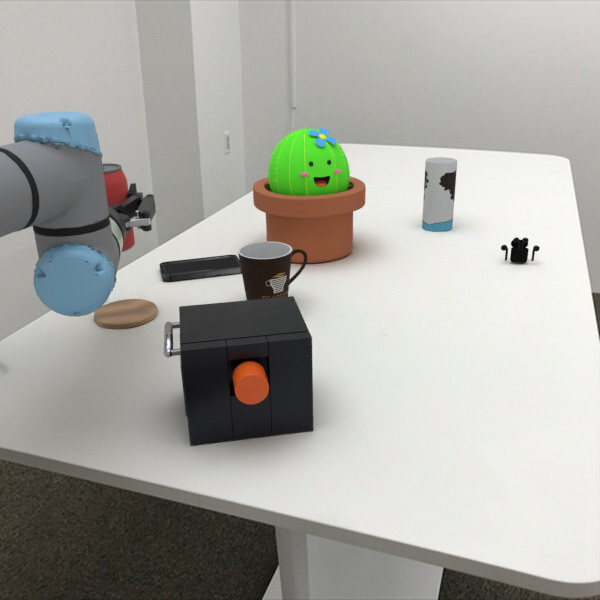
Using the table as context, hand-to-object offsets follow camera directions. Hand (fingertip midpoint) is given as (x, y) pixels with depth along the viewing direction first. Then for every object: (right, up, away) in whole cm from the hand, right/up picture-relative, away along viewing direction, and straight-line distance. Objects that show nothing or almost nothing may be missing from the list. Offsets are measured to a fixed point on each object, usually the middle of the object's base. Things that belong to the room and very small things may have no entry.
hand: (109, 193), depth 98 cm
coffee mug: (+25, -17, +9) cm, 32 cm away
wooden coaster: (+1, -19, +7) cm, 20 cm away
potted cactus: (+31, -6, +36) cm, 47 cm away
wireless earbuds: (+70, -9, +26) cm, 76 cm away
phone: (+10, -11, +26) cm, 29 cm away
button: (+23, -27, -28) cm, 45 cm away
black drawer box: (+22, -29, -19) cm, 42 cm away
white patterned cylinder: (+60, 0, +48) cm, 77 cm away
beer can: (+1, -9, -2) cm, 9 cm away
